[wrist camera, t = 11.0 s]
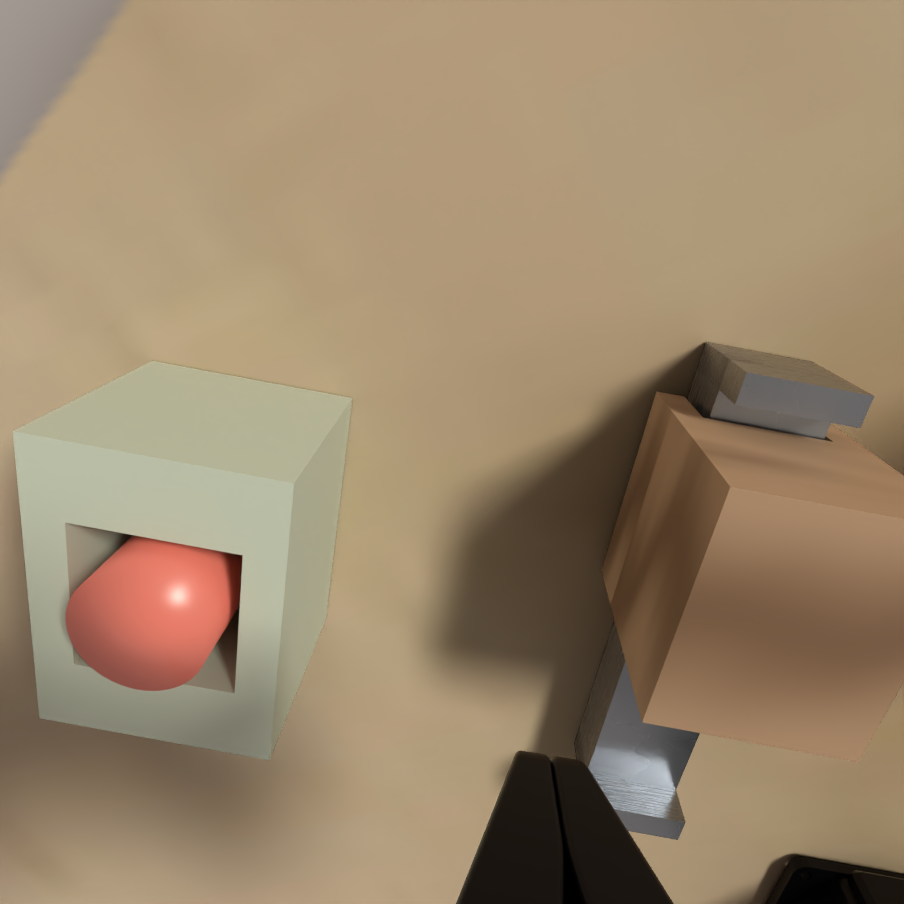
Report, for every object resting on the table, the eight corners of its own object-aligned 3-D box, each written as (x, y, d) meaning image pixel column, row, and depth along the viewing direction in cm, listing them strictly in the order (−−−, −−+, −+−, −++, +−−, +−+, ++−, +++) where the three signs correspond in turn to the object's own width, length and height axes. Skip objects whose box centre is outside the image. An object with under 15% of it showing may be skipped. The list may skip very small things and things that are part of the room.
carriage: (756, 599, 21) (858, 762, 15) (601, 570, 21) (642, 722, 15) (831, 424, 18) (986, 534, 13) (656, 391, 18) (730, 487, 12)
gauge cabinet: (326, 618, 22) (269, 760, 17) (139, 583, 22) (20, 715, 17) (352, 398, 19) (293, 483, 14) (136, 358, 19) (-10, 427, 14)
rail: (655, 758, 24) (677, 839, 21) (574, 743, 24) (585, 822, 21) (812, 361, 18) (873, 396, 15) (705, 341, 18) (746, 372, 15)
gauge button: (262, 600, 19) (205, 701, 15) (153, 580, 19) (68, 677, 15) (270, 503, 18) (209, 587, 14) (153, 481, 18) (61, 560, 14)
